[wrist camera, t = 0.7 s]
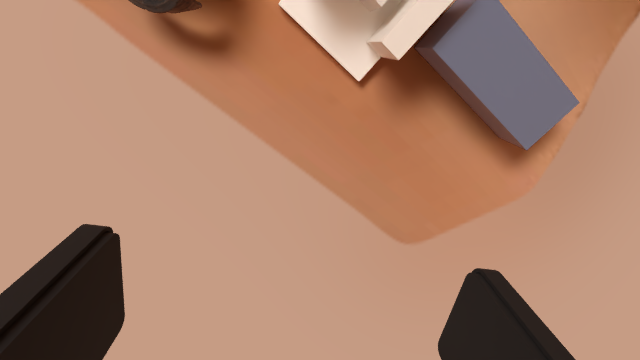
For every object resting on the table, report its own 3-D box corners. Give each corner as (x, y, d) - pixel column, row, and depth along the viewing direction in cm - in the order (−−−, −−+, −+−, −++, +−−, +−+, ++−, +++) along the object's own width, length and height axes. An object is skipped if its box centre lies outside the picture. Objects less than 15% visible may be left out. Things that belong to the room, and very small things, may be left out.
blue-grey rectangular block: (459, -5, 31) (488, -13, 26) (542, 94, 35) (579, 102, 30) (413, 47, 32) (432, 48, 28) (497, 136, 37) (526, 150, 32)
